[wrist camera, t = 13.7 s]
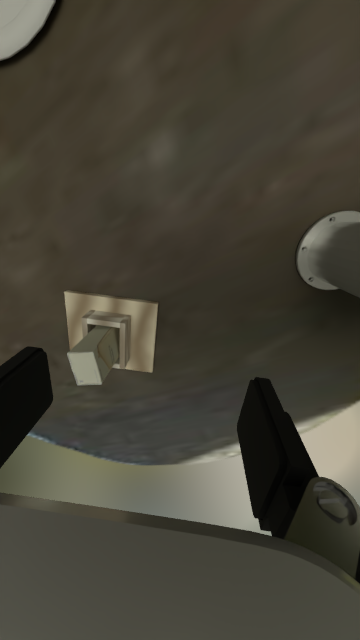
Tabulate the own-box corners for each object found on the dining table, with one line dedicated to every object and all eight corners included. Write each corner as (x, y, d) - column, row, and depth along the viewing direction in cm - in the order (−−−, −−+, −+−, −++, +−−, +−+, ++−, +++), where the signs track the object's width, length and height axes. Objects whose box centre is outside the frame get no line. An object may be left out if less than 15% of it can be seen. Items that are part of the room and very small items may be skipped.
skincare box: (125, 347, 47) (103, 385, 36) (105, 348, 48) (77, 386, 37) (119, 319, 45) (93, 352, 34) (97, 320, 45) (65, 353, 34)
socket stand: (158, 302, 44) (154, 311, 39) (153, 369, 51) (148, 384, 46) (67, 290, 44) (52, 298, 40) (73, 358, 51) (61, 372, 46)
